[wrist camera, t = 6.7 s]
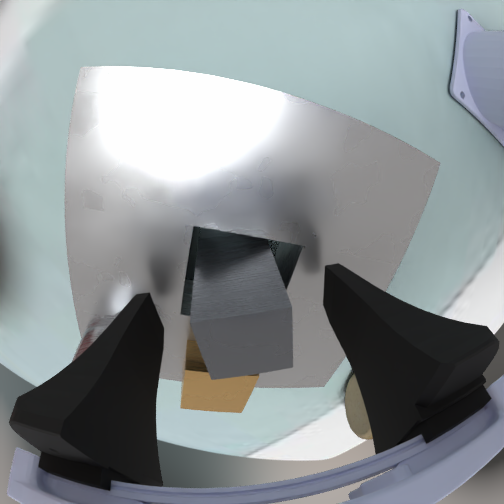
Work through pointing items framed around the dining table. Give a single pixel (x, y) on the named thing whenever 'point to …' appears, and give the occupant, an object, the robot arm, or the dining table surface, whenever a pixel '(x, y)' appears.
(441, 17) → the dining table surface
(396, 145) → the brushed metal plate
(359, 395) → the ceramic mug
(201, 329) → the metal block
